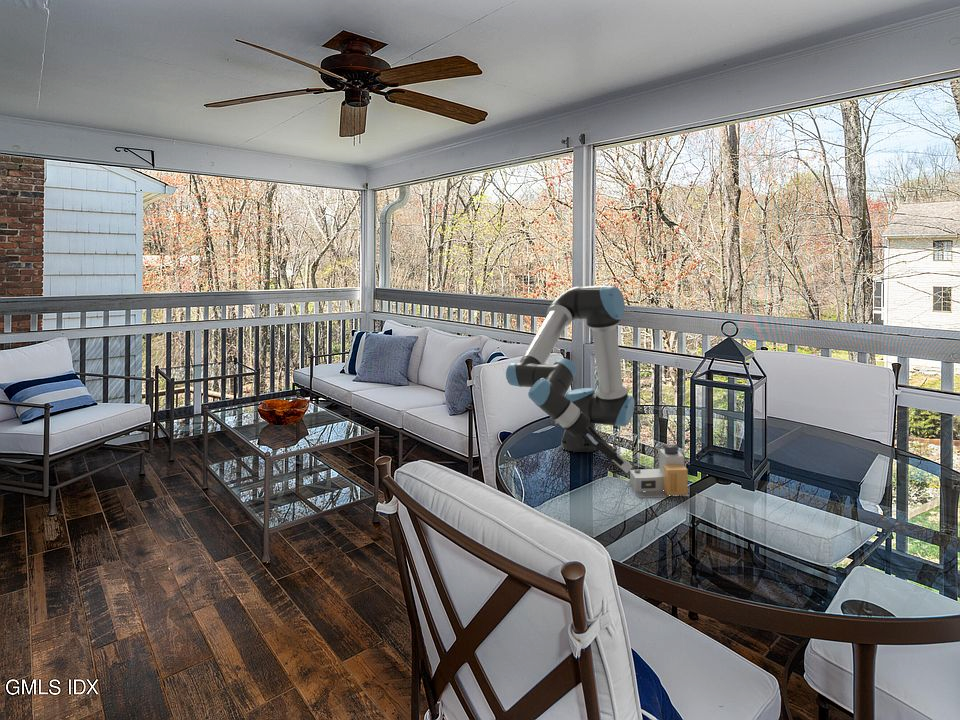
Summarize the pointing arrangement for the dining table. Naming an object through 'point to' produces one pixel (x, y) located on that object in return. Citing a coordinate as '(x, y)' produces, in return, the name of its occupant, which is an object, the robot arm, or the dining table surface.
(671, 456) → the white small appliance
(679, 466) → the orange wooden block
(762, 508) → the dining table surface
